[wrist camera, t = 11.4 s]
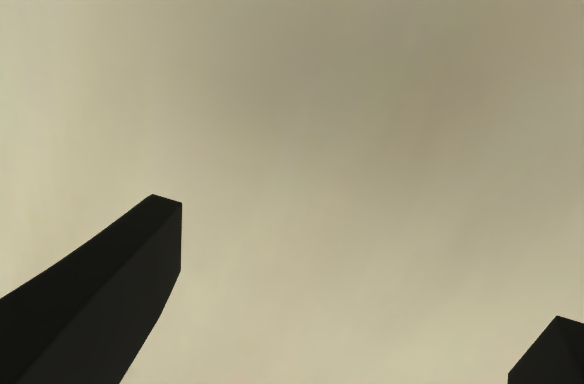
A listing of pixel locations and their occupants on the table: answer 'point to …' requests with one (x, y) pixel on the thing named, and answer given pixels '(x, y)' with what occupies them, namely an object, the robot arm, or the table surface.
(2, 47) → the table surface
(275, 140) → the table surface
